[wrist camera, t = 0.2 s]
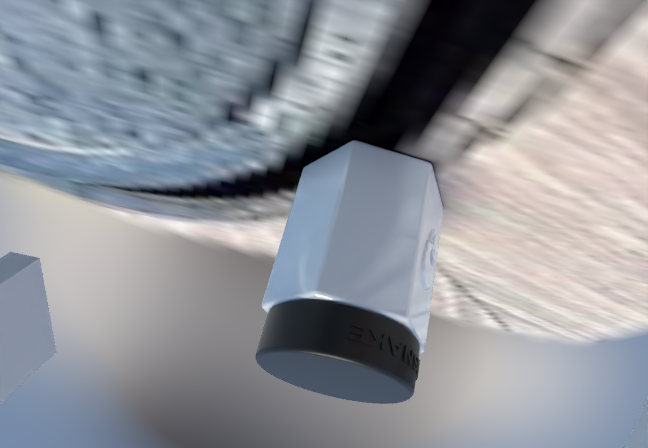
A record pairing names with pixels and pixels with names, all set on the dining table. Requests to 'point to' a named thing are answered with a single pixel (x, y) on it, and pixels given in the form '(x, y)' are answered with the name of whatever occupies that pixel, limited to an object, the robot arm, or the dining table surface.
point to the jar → (354, 276)
